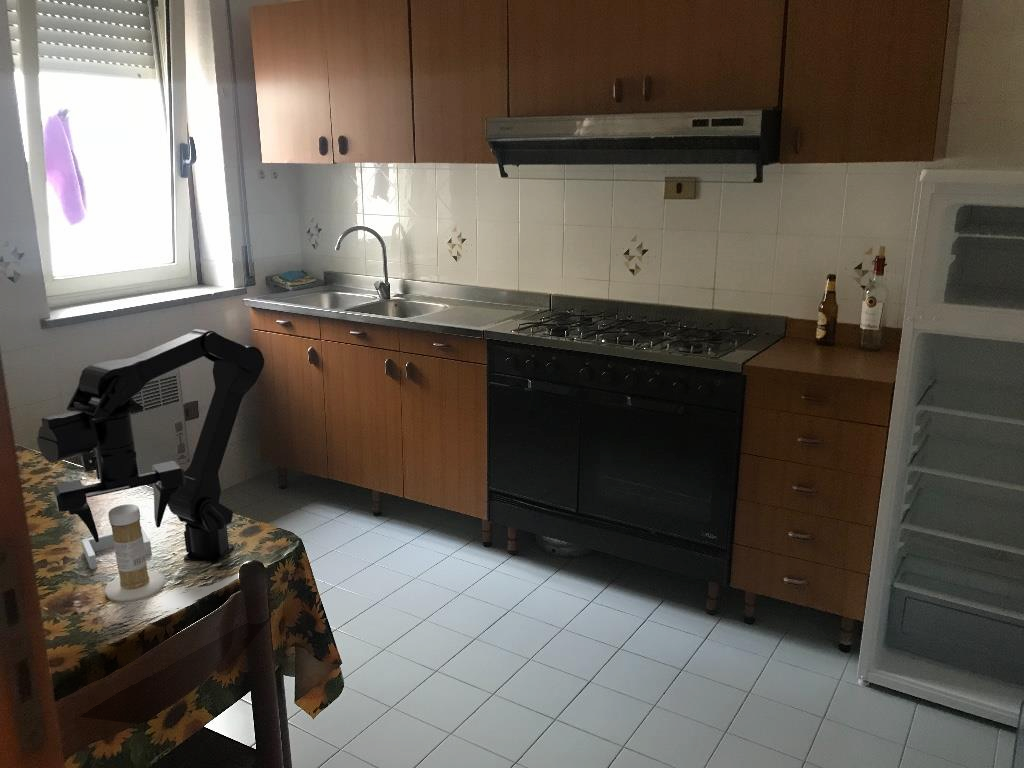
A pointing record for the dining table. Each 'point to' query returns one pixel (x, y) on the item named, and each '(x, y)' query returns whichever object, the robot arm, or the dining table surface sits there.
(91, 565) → the grey archway
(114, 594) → the coaster
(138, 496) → the dining table surface
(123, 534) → the sprinkles bottle
